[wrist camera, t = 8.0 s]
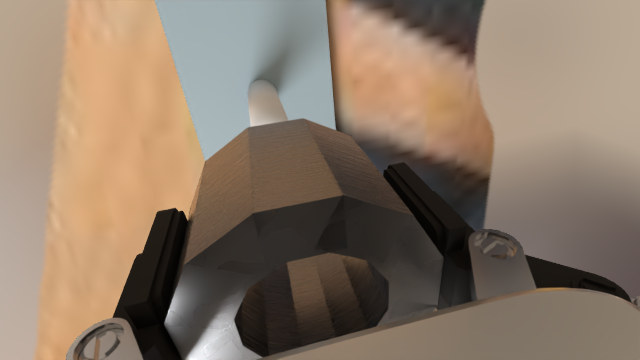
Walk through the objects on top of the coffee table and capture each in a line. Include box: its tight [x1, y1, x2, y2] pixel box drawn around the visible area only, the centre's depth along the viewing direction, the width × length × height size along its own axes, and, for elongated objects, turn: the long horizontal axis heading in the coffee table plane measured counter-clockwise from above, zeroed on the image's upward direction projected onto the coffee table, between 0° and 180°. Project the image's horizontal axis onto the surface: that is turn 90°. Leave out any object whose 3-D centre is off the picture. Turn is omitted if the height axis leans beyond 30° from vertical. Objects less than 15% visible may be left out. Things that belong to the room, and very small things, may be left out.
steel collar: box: [164, 118, 444, 360], centre depth 11 cm, size 7×7×5 cm
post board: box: [155, 0, 336, 161], centre depth 24 cm, size 12×20×10 cm, turn 6°
